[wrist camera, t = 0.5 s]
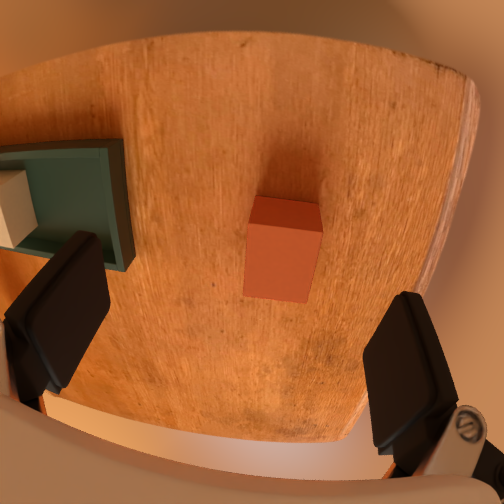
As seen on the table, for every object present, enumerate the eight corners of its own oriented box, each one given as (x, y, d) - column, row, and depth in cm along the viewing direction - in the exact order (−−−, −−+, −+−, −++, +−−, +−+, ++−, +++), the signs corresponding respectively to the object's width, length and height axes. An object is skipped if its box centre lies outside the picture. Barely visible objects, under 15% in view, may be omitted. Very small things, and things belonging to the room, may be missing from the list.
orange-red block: (318, 203, 24) (323, 232, 21) (305, 269, 28) (306, 304, 24) (255, 195, 25) (248, 222, 21) (249, 262, 28) (242, 296, 24)
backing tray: (123, 138, 23) (107, 147, 21) (136, 256, 29) (125, 272, 27) (-16, 148, 24) (-32, 156, 22) (5, 236, 30) (-7, 247, 28)
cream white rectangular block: (25, 169, 24) (-4, 188, 21) (38, 225, 28) (13, 249, 24) (-3, 170, 25) (-30, 188, 21) (10, 222, 28) (-14, 243, 24)
